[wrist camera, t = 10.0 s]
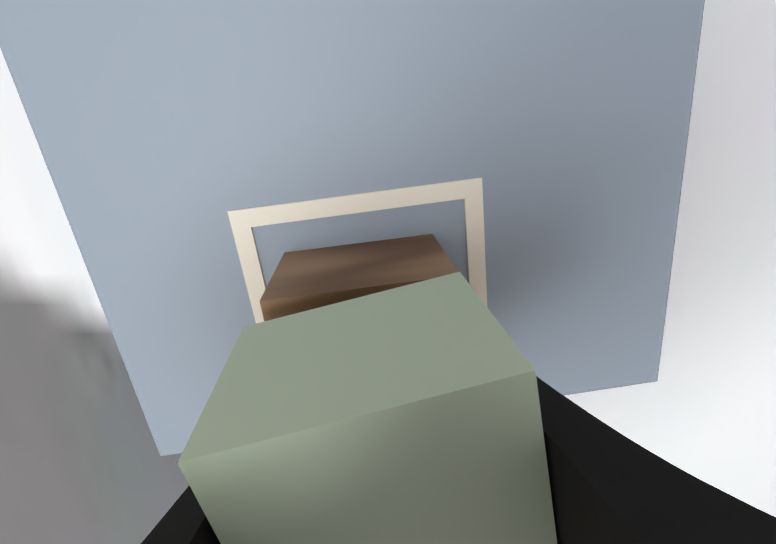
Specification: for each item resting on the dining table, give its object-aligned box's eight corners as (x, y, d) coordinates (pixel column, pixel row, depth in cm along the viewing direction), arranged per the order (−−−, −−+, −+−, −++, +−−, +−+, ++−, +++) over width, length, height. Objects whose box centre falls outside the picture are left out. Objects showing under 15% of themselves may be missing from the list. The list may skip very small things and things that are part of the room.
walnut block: (432, 233, 14) (460, 275, 11) (441, 360, 16) (468, 434, 12) (283, 252, 14) (259, 300, 10) (309, 379, 16) (296, 459, 12)
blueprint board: (700, -181, 12) (734, -210, 11) (641, 367, 18) (659, 382, 17) (-32, -104, 11) (-72, -126, 10) (170, 437, 17) (159, 458, 16)
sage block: (459, 271, 10) (535, 370, 6) (491, 442, 11) (564, 603, 8) (243, 326, 9) (177, 462, 6) (308, 489, 11) (291, 675, 7)
